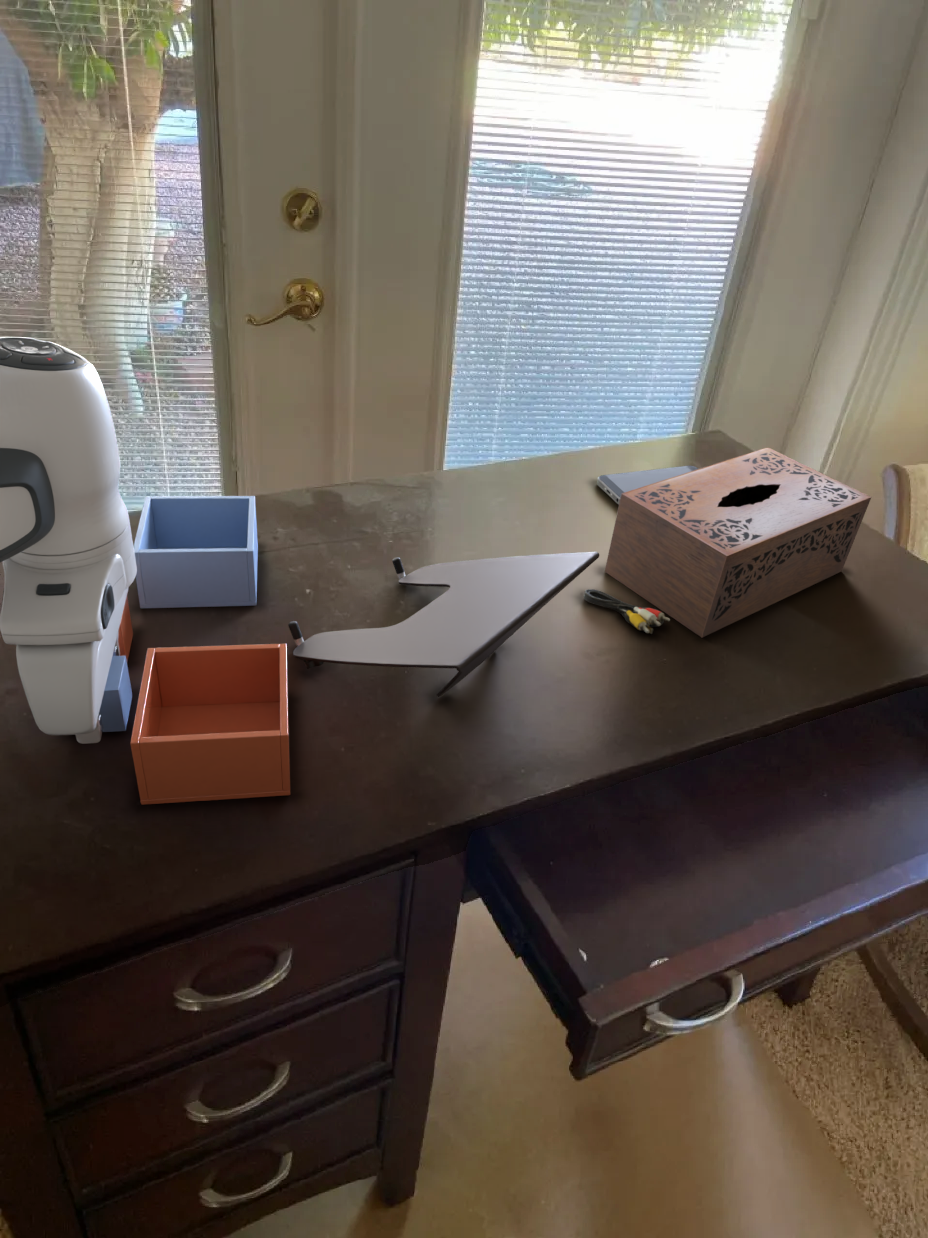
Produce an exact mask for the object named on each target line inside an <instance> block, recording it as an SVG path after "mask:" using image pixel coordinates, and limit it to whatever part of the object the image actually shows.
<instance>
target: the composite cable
mask: <svg viewBox="0 0 928 1238" xmlns="http://www.w3.org/2000/svg"><path fill="white" fill-rule="evenodd" d="M583 600H585V601H586V602H587V603H590V604H593V605H596V606H600V607H604V608H606V609H607V608H608V609H610V610H613V611H616V612H618V613H619V614H621V615H622V617H623V618H624V620H625V622H626V623H627V624H629V625H631V626H632V627H634V628H635V629H636V630H638V631H642V632H645V634H651V635H652V634H653V633H654V628H656V627H660V626H662V625H663V624H664V623H665V622H670V621H671V619H670V617H667V616H666V615H665V612H663V611H662V610H660V609H659V610H658V609H656V608H652V607H646V606H638V605H634V604H631V603H627V602H624V601H623V600H622V601H621V600H620V599H618V598H616V597H615V596H612V595H610V594H608V593H607V592H605V591H602V590H598V589H594V588H593V589H592V588H590V589H589V588H588V589H585V590H584V595H583Z"/></svg>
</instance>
